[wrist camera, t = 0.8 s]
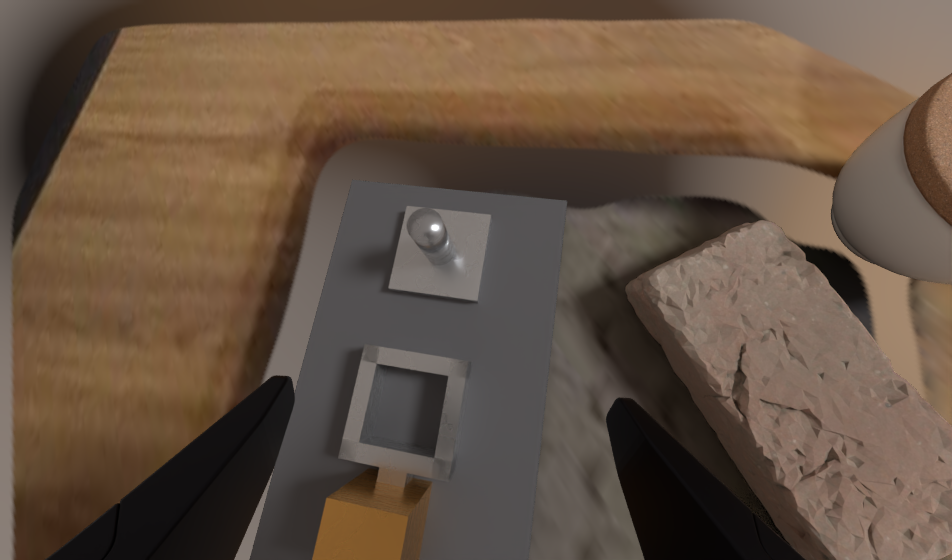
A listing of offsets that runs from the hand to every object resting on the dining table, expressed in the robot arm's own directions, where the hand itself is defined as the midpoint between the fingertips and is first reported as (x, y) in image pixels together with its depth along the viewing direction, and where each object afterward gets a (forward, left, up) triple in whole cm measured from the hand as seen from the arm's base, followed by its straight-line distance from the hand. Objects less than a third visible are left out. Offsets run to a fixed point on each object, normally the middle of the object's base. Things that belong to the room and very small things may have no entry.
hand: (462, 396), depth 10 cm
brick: (+3, -15, -14) cm, 21 cm away
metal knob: (+8, +5, -12) cm, 15 cm away
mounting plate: (0, +5, -13) cm, 14 cm away
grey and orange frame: (-6, +5, -12) cm, 15 cm away
